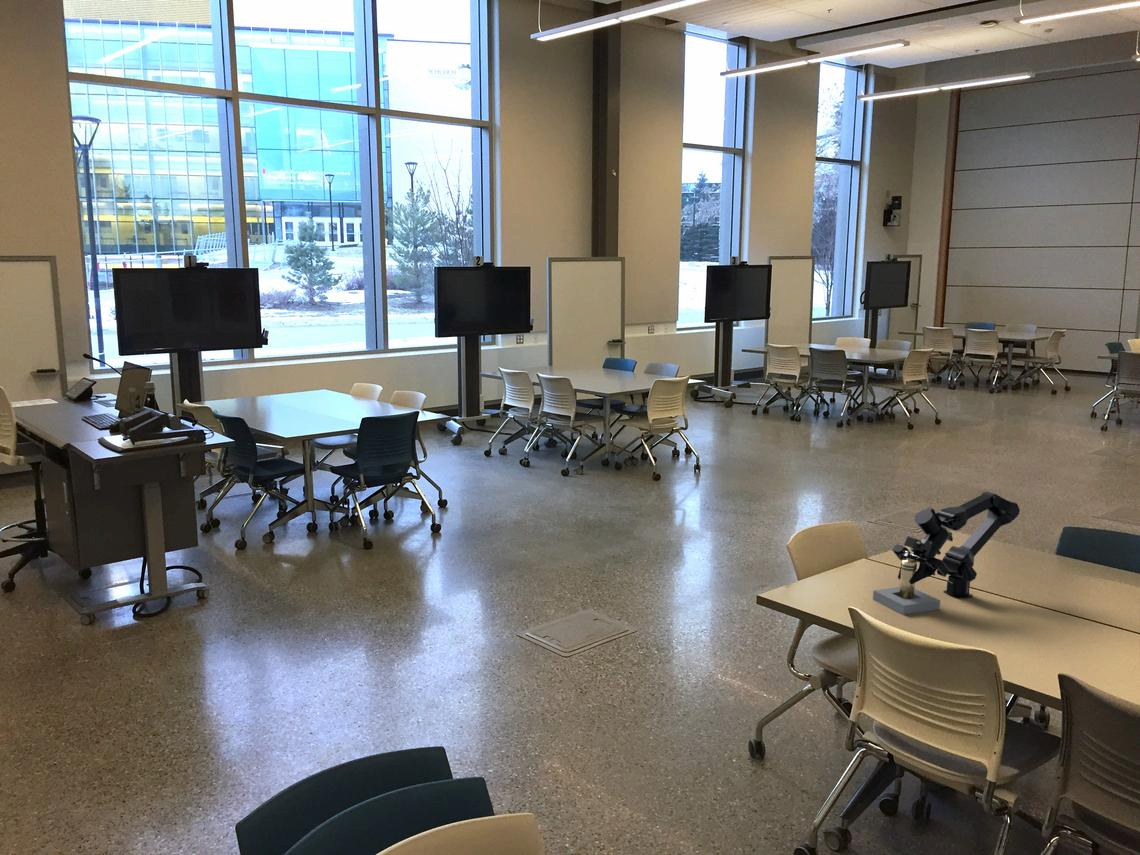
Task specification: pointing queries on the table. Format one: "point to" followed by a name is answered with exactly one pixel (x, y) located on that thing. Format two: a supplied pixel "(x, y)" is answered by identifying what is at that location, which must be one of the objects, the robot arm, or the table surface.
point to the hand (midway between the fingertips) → (904, 580)
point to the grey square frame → (906, 601)
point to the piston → (907, 578)
